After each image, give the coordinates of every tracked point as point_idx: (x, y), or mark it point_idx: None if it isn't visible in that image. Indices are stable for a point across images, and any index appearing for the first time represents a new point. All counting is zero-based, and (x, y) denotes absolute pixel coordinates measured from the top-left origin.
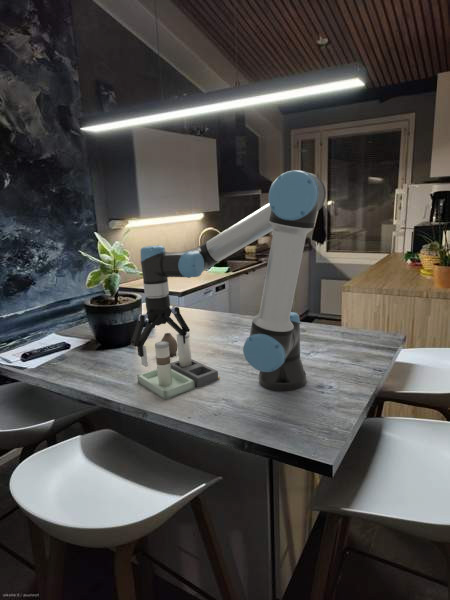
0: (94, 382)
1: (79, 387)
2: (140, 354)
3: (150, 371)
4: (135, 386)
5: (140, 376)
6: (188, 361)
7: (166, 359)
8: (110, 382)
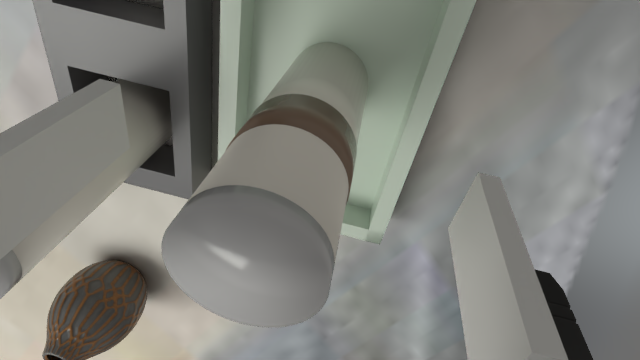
0: None
1: None
2: (562, 298)
3: None
4: (424, 198)
5: (386, 221)
6: None
7: (299, 115)
8: (442, 300)
